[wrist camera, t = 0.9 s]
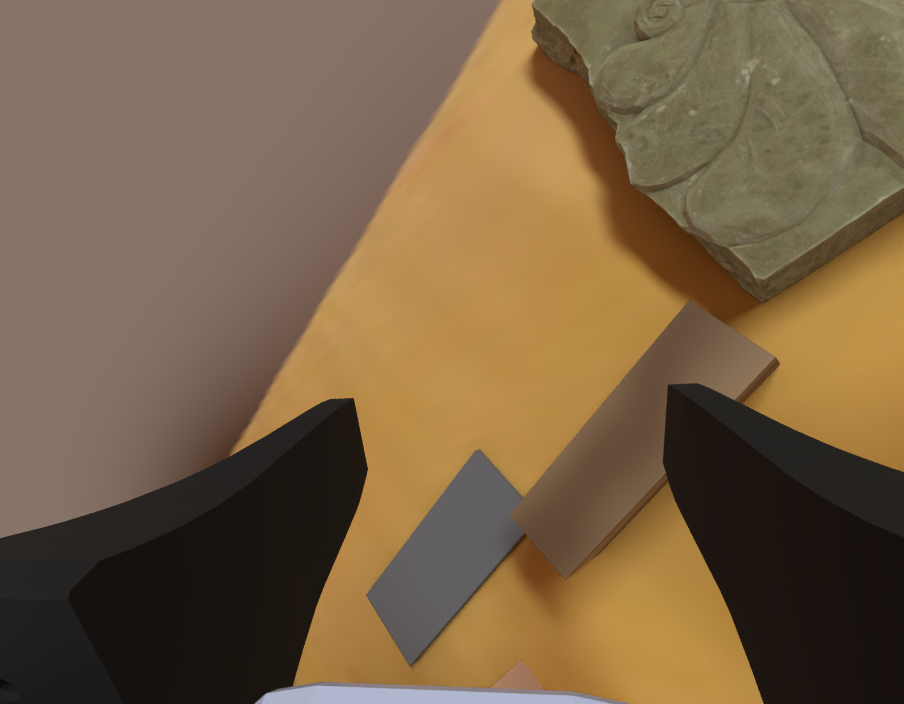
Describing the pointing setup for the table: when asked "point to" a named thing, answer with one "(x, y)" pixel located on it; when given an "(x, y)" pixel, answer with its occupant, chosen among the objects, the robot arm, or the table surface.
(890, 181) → the decorative tile
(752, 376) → the brown wooden plank
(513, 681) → the tile
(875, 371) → the table surface
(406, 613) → the mat
